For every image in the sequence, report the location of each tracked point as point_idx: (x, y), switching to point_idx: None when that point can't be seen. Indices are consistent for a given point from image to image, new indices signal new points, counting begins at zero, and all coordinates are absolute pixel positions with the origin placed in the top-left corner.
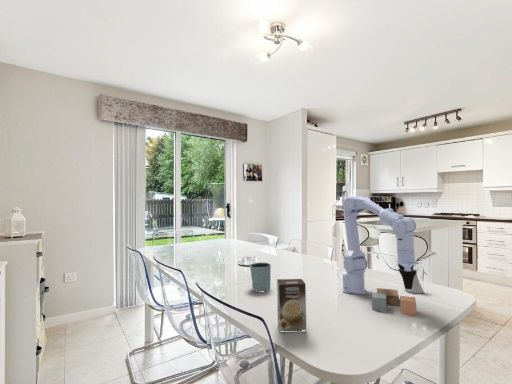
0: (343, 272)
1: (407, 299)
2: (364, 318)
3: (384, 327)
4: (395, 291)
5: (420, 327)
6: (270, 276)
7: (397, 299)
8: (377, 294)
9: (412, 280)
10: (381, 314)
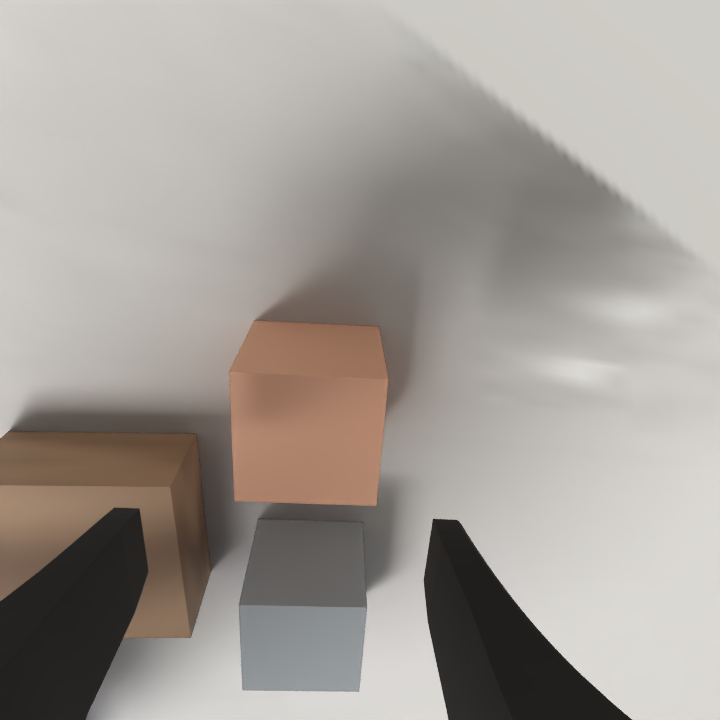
0: None
1: (332, 448)
2: None
3: (640, 541)
4: (17, 503)
5: (617, 332)
6: None
7: (181, 476)
8: (274, 659)
9: (537, 637)
10: None
